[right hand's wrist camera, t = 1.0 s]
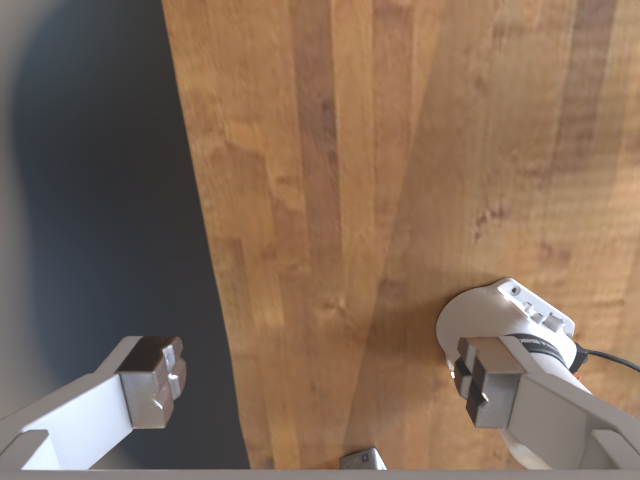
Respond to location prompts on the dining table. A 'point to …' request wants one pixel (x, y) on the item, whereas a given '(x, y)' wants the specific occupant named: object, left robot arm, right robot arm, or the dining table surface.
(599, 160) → the dining table surface
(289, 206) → the dining table surface
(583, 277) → the dining table surface
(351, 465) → the hard drive box
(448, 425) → the dining table surface
